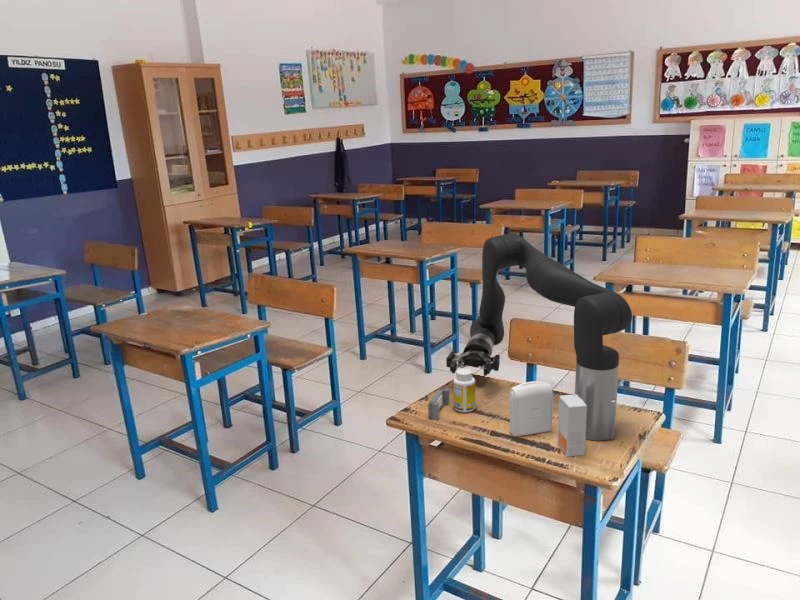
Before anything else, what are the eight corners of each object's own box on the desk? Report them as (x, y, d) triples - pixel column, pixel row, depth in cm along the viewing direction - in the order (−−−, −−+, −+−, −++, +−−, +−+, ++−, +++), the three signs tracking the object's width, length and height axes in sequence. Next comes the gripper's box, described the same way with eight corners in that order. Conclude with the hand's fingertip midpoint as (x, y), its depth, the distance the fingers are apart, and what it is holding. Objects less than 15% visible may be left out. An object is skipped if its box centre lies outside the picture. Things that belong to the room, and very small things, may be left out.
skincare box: (556, 443, 142) (558, 395, 139) (575, 442, 143) (577, 393, 139) (566, 457, 136) (568, 406, 133) (585, 455, 137) (588, 405, 134)
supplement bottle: (476, 404, 163) (476, 367, 161) (474, 413, 158) (474, 376, 155) (454, 403, 164) (454, 367, 162) (452, 412, 159) (452, 375, 156)
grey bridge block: (449, 403, 165) (449, 389, 163) (437, 419, 156) (437, 404, 154) (440, 402, 165) (440, 388, 164) (428, 418, 156) (428, 403, 155)
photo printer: (513, 438, 145) (514, 389, 142) (506, 430, 149) (507, 381, 146) (554, 432, 147) (556, 383, 144) (546, 424, 152) (548, 376, 148)
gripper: (454, 336, 181) (442, 356, 166) (503, 339, 177) (496, 359, 162) (454, 360, 183) (442, 382, 168) (503, 363, 179) (495, 386, 164)
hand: (468, 371), depth 165 cm, fingers open, 8 cm apart
